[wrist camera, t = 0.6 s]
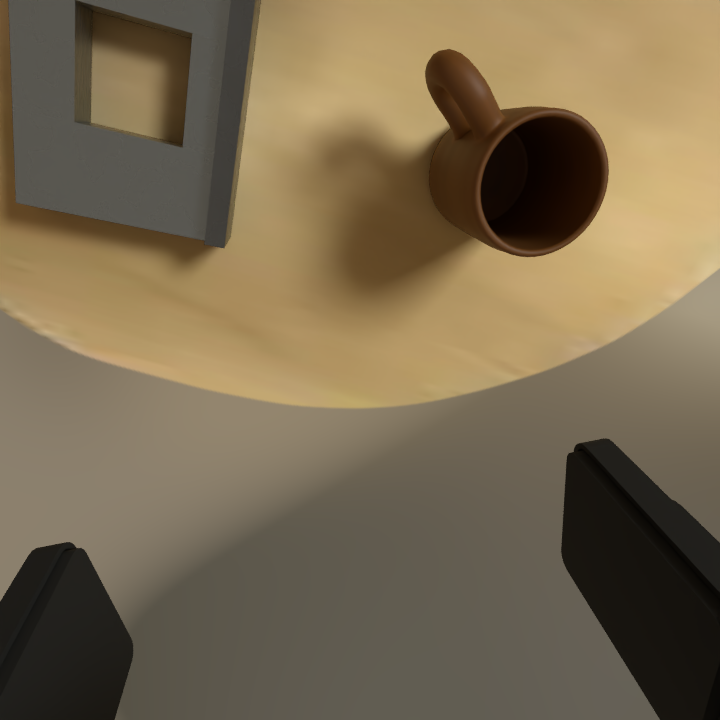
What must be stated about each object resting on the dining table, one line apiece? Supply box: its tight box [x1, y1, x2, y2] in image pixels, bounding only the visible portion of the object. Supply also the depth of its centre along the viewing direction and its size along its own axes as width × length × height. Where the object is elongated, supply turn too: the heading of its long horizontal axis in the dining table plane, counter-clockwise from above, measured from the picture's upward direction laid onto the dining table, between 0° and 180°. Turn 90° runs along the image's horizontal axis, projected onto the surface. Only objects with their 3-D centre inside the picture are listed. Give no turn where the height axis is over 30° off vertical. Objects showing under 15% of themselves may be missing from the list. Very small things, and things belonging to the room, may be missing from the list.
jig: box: [8, 0, 261, 248], centre depth 28 cm, size 16×12×4 cm
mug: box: [425, 49, 609, 257], centre depth 29 cm, size 12×8×9 cm, turn 42°
